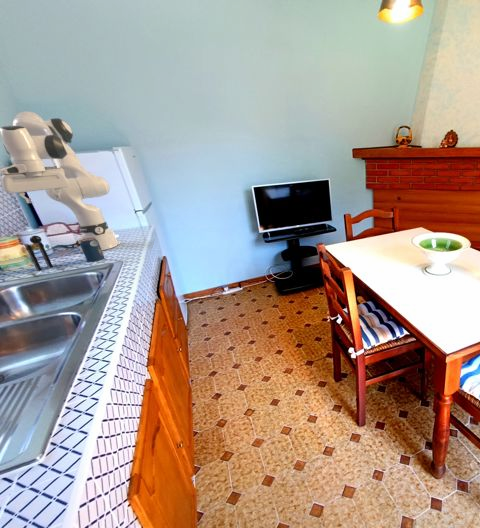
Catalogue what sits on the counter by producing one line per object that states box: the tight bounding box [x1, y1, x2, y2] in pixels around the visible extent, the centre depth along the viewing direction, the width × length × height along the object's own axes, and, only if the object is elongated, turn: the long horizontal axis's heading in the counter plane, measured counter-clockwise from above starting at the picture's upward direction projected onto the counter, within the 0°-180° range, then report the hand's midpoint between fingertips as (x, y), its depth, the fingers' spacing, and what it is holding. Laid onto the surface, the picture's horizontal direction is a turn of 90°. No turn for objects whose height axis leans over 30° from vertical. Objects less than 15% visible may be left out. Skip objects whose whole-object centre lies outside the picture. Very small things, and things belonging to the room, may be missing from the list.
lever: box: [29, 235, 42, 252], centre depth 135 cm, size 13×4×4 cm, turn 57°
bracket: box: [23, 241, 54, 272], centre depth 140 cm, size 12×9×14 cm
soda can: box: [80, 238, 106, 263], centre depth 148 cm, size 7×7×12 cm
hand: (44, 201), depth 130 cm, fingers open, 8 cm apart
